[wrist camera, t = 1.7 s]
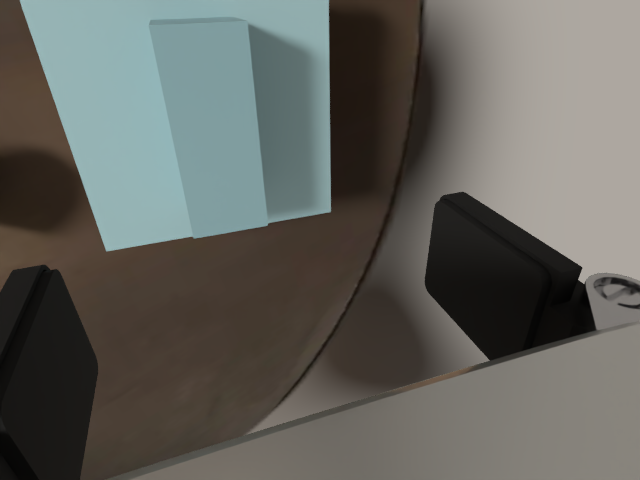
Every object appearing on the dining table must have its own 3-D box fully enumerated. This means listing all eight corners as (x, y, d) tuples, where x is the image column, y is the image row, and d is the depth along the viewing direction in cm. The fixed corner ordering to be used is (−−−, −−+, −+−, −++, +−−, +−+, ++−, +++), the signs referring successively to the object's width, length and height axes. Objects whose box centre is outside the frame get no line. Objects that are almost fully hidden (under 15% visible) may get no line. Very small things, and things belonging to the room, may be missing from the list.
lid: (21, -33, 19) (-33, -44, 14) (315, -35, 23) (363, -45, 18) (109, 234, 27) (97, 294, 21) (320, 199, 31) (355, 243, 25)
